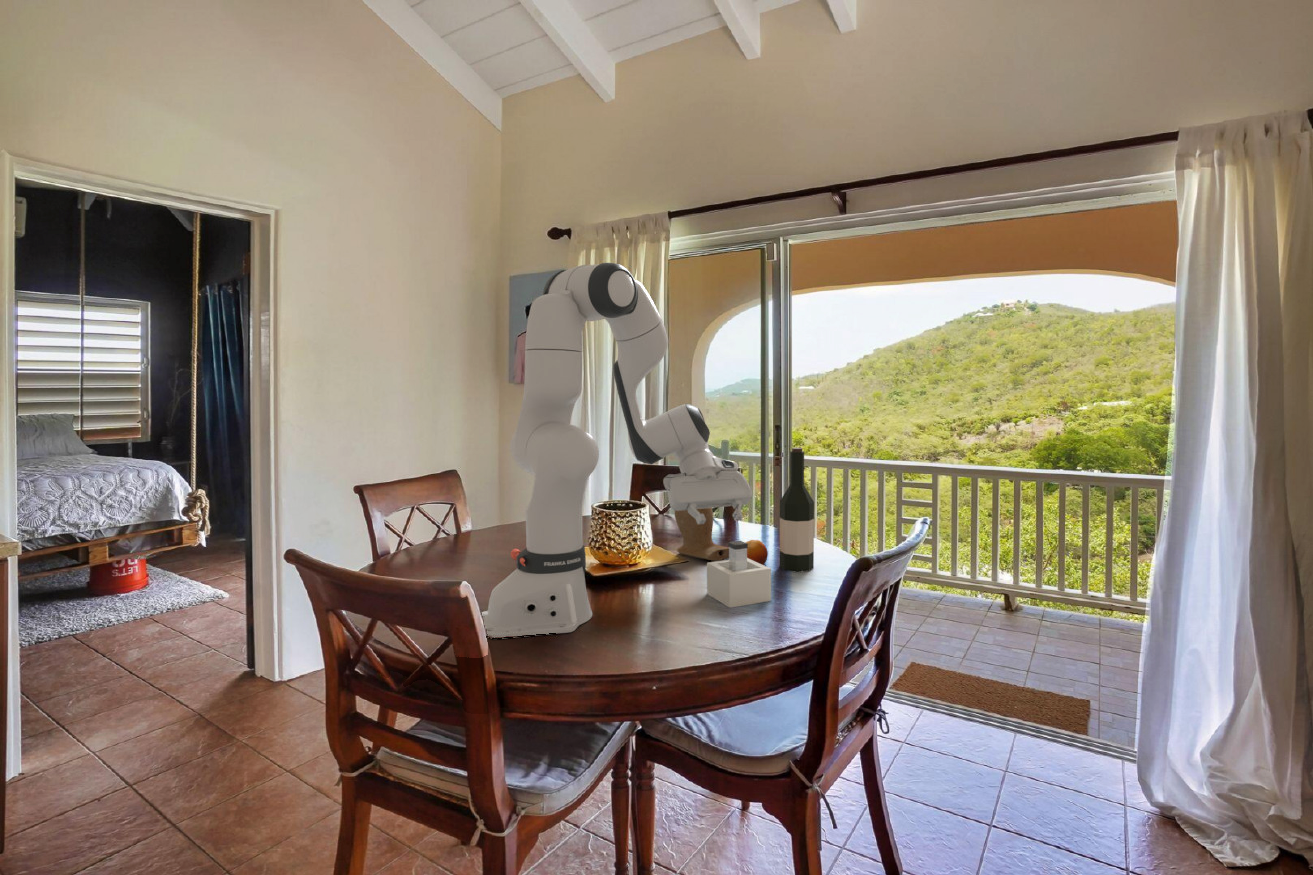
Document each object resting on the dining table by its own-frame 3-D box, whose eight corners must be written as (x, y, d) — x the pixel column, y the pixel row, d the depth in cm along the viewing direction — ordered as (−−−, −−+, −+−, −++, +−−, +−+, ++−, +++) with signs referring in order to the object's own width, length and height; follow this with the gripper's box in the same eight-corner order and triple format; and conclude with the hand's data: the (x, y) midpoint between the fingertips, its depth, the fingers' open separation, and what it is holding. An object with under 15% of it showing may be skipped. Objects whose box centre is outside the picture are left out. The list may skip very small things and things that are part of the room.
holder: (729, 607, 137) (729, 574, 137) (707, 593, 146) (706, 562, 146) (770, 600, 141) (770, 568, 140) (746, 587, 150) (746, 557, 150)
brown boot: (665, 556, 179) (665, 501, 178) (697, 548, 187) (697, 495, 185) (705, 567, 167) (704, 508, 166) (737, 559, 175) (737, 502, 174)
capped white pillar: (734, 596, 141) (734, 545, 140) (725, 591, 145) (725, 541, 144) (750, 594, 143) (750, 543, 142) (741, 588, 146) (741, 539, 145)
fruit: (774, 566, 162) (757, 538, 162) (747, 582, 163) (730, 554, 164) (775, 558, 170) (759, 531, 170) (749, 572, 171) (732, 546, 172)
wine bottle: (820, 568, 165) (821, 448, 163) (796, 573, 161) (797, 450, 158) (796, 560, 172) (796, 446, 170) (772, 566, 167) (772, 448, 165)
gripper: (664, 466, 151) (683, 516, 143) (742, 462, 159) (764, 509, 151) (657, 483, 156) (674, 532, 148) (733, 478, 164) (754, 524, 155)
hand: (720, 520), depth 149 cm, fingers open, 8 cm apart
